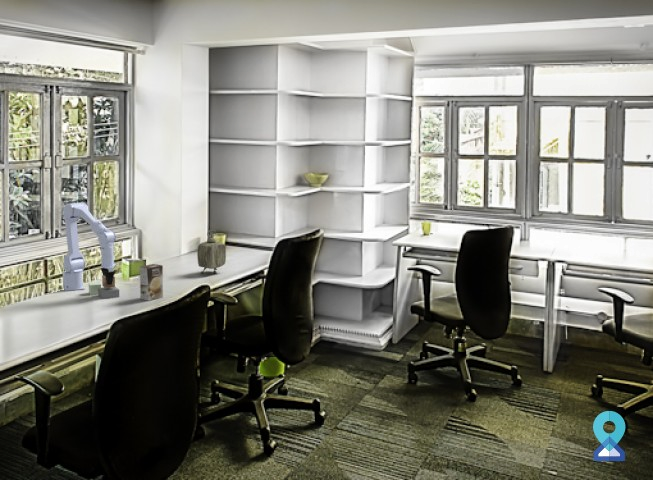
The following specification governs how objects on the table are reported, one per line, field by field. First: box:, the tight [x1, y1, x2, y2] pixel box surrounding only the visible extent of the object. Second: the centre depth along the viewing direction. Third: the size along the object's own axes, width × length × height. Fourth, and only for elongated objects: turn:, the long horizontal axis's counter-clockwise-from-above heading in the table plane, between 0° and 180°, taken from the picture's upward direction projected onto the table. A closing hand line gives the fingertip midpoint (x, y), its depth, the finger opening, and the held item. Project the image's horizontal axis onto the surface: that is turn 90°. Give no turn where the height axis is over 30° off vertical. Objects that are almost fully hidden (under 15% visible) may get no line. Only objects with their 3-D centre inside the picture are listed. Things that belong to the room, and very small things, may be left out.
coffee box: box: [139, 263, 164, 302], centre depth 350 cm, size 9×6×16 cm
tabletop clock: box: [196, 229, 227, 275], centre depth 405 cm, size 14×9×25 cm, turn 145°
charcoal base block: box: [98, 286, 120, 300], centre depth 353 cm, size 8×8×4 cm
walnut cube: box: [101, 275, 116, 288], centre depth 352 cm, size 5×5×5 cm
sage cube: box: [88, 282, 102, 296], centre depth 357 cm, size 5×5×5 cm
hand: (108, 283), depth 352 cm, fingers closed on walnut cube, 5 cm apart
